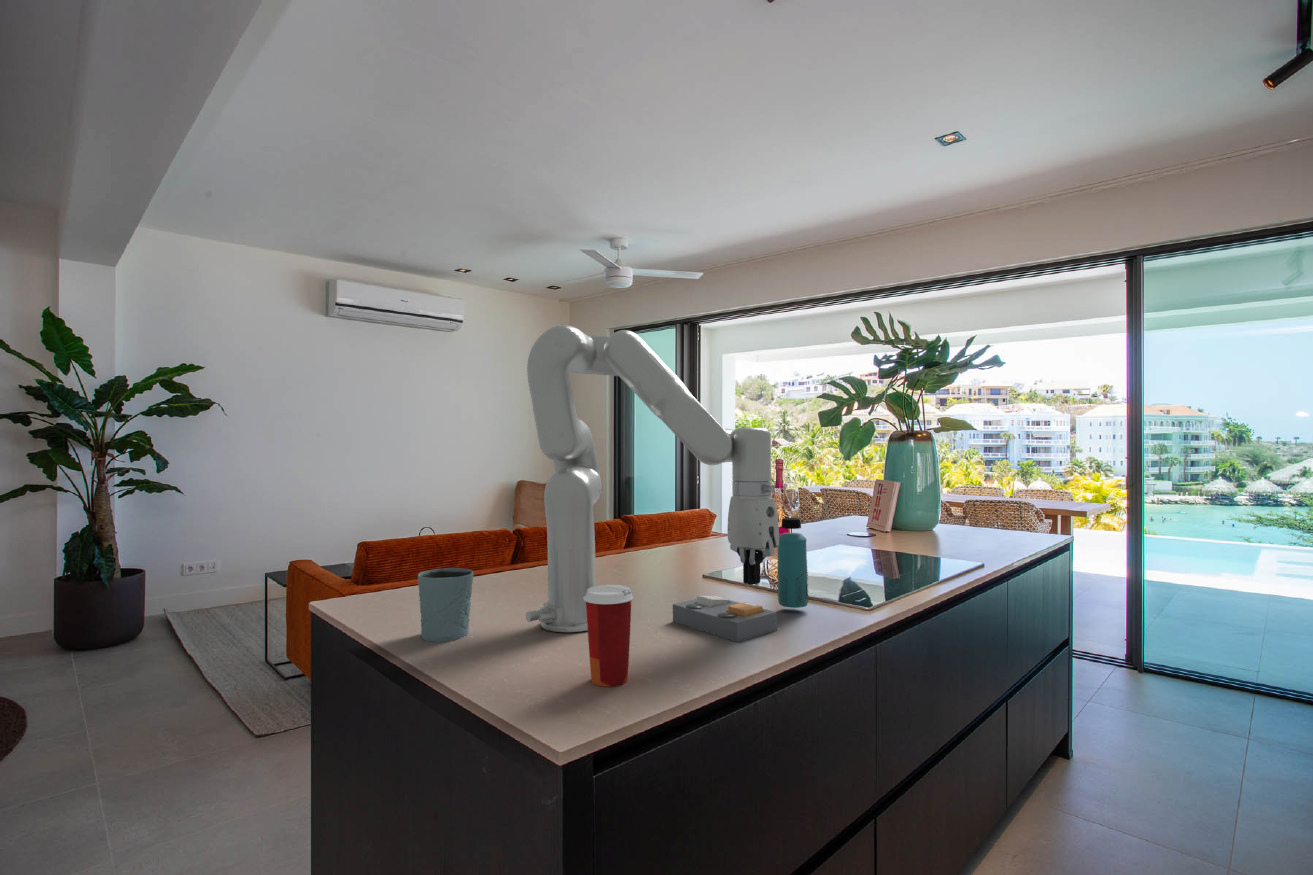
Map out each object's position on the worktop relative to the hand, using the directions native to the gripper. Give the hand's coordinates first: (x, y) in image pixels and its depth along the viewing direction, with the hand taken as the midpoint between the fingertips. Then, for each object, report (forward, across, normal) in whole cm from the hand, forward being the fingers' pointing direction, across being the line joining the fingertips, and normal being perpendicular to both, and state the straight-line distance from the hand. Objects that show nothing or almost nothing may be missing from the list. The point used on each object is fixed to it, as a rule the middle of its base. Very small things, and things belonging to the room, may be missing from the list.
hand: (751, 583), depth 127 cm
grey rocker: (+5, +9, +2) cm, 10 cm away
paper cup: (+9, -5, +38) cm, 39 cm away
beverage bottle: (+9, +2, -15) cm, 18 cm away
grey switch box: (+9, +4, +4) cm, 10 cm away
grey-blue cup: (+9, +35, +48) cm, 60 cm away
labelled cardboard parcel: (+5, 0, +2) cm, 6 cm away
